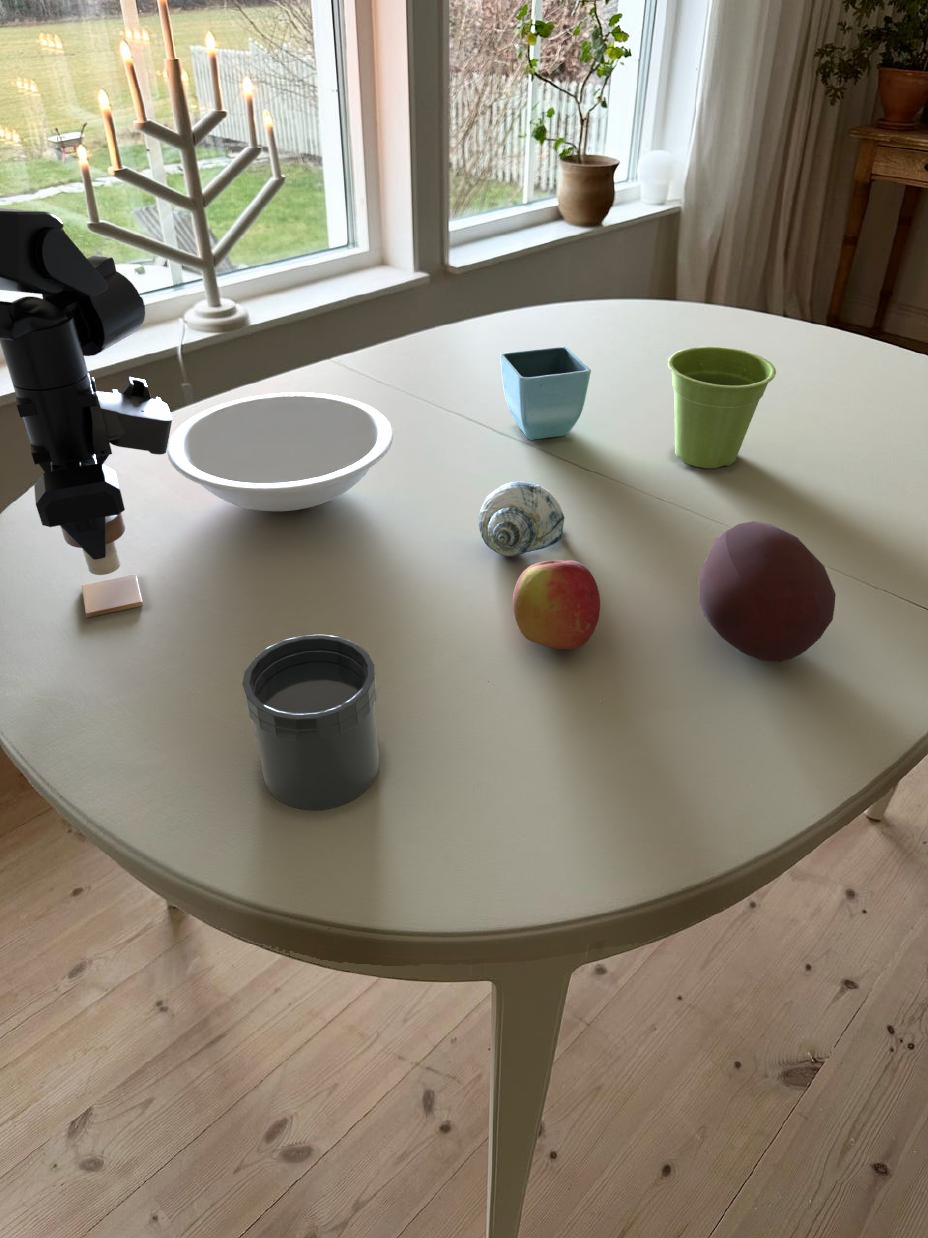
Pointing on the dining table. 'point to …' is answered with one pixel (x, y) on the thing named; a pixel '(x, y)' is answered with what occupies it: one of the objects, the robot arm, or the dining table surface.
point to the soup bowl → (281, 449)
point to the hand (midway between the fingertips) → (96, 543)
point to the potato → (765, 592)
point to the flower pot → (544, 390)
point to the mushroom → (111, 561)
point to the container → (314, 720)
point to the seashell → (520, 519)
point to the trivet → (111, 595)
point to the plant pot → (715, 401)
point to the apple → (557, 604)
